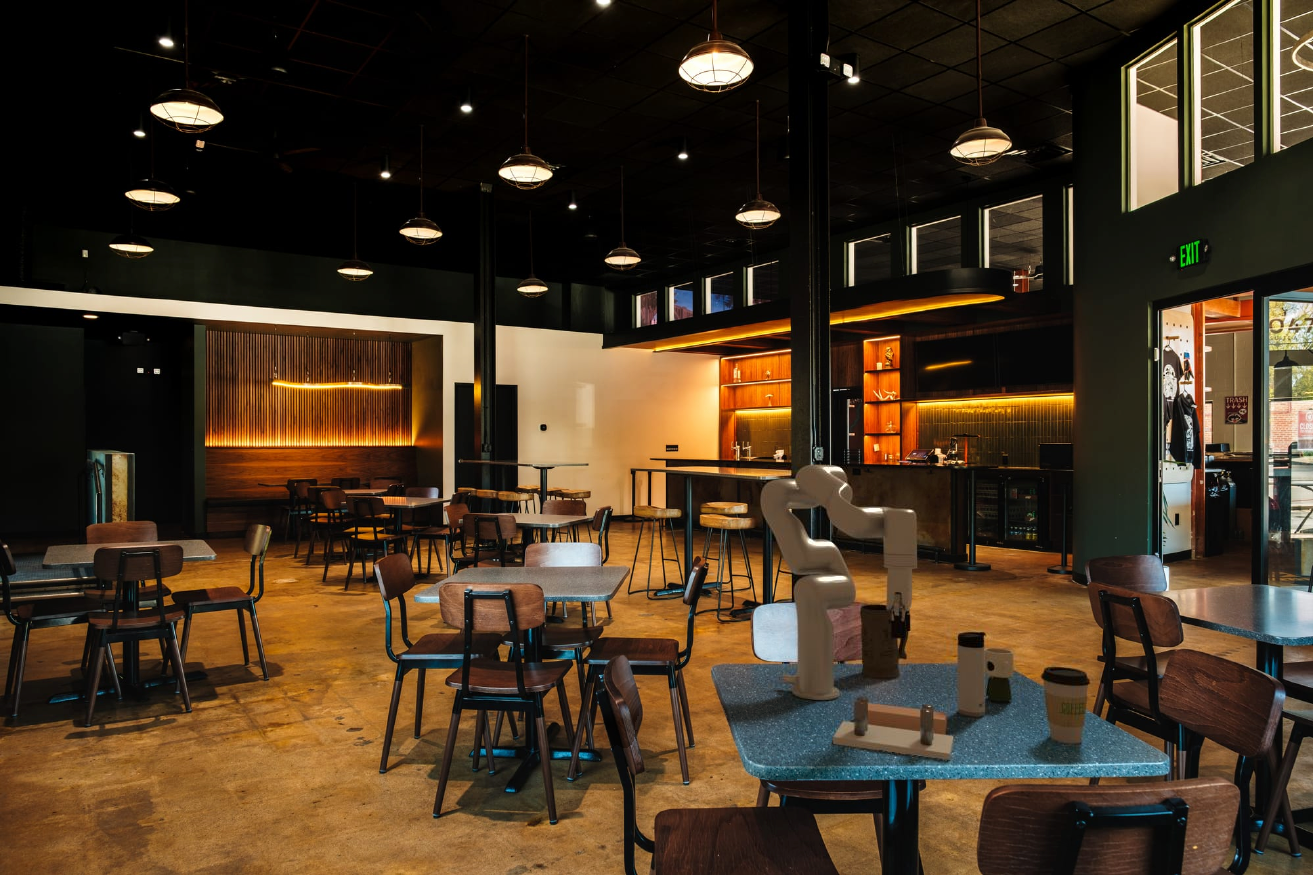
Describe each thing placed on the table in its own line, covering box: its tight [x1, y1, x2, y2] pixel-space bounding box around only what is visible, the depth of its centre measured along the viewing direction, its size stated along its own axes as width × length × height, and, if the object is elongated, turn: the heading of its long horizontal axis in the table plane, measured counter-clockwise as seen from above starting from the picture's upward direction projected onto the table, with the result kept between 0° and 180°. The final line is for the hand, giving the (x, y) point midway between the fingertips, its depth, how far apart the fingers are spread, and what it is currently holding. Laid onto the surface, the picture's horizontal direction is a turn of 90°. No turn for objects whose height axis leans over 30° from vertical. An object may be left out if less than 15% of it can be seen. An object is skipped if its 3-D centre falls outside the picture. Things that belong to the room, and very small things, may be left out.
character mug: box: [984, 647, 1014, 703], centre depth 207 cm, size 11×7×13 cm, turn 179°
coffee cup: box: [1040, 666, 1091, 744], centre depth 178 cm, size 10×10×15 cm
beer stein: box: [859, 604, 909, 679], centre depth 234 cm, size 15×11×20 cm
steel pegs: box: [853, 696, 934, 746], centre depth 174 cm, size 16×6×7 cm, turn 66°
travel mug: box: [957, 631, 987, 718], centre depth 196 cm, size 6×7×20 cm
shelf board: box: [868, 702, 948, 735], centre depth 186 cm, size 20×6×4 cm, turn 66°
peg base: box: [832, 721, 954, 760], centre depth 174 cm, size 24×12×2 cm, turn 66°
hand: (901, 634), depth 186 cm, fingers open, 9 cm apart
